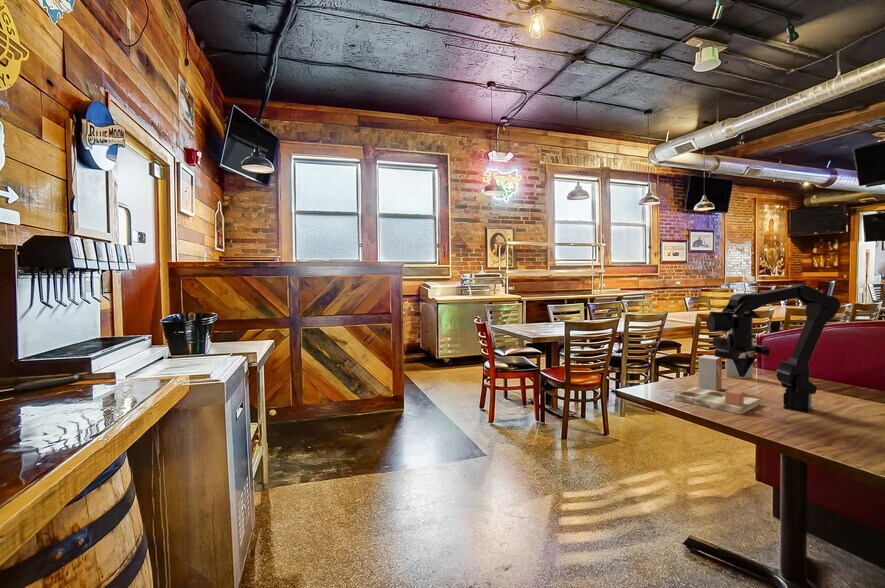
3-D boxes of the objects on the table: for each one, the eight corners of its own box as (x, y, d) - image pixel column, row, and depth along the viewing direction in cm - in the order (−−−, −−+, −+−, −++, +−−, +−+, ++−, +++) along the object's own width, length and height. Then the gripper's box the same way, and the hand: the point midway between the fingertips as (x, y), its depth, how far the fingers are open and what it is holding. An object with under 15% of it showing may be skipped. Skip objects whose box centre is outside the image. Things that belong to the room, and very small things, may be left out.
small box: (716, 392, 165) (716, 359, 165) (698, 389, 170) (698, 357, 169) (722, 388, 171) (722, 356, 170) (704, 385, 176) (704, 354, 175)
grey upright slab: (752, 377, 187) (753, 327, 186) (754, 379, 183) (754, 328, 182) (723, 375, 192) (724, 326, 191) (724, 377, 188) (724, 327, 187)
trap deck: (759, 404, 150) (759, 399, 149) (740, 414, 140) (740, 408, 140) (695, 392, 167) (695, 387, 167) (674, 399, 158) (674, 394, 158)
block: (743, 403, 145) (743, 391, 145) (738, 405, 143) (738, 394, 143) (730, 400, 148) (730, 389, 148) (725, 403, 146) (725, 391, 146)
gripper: (738, 326, 156) (738, 369, 157) (700, 330, 150) (700, 374, 150) (770, 330, 145) (770, 375, 146) (731, 334, 139) (730, 381, 140)
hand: (741, 376), depth 146 cm, fingers closed
